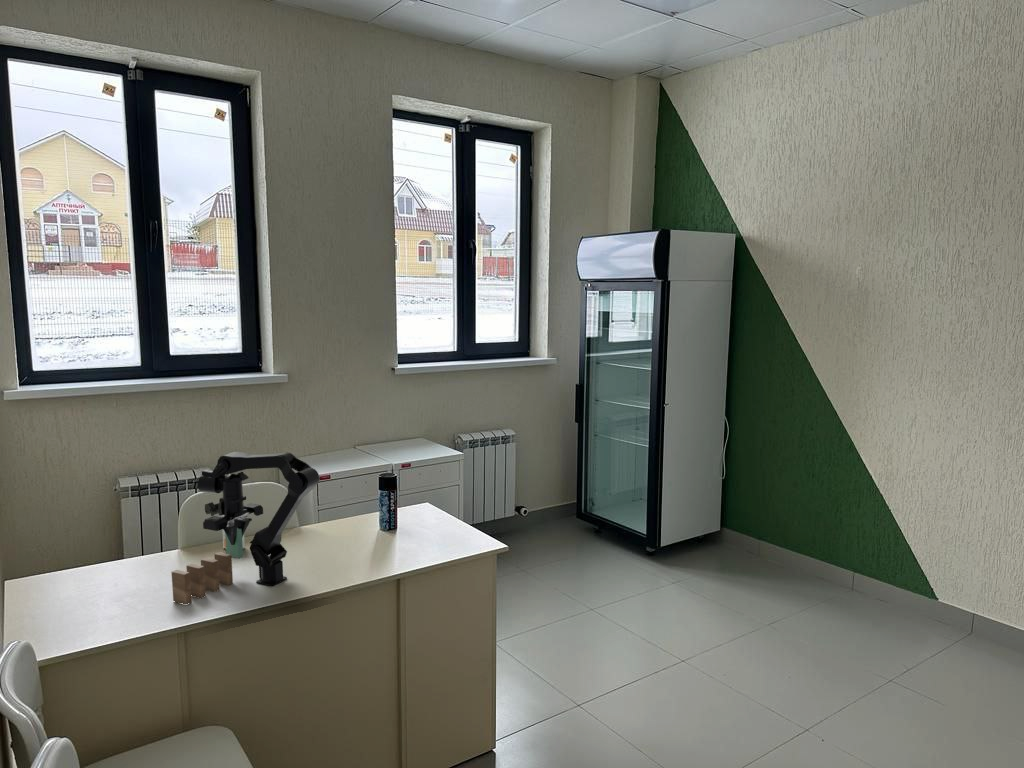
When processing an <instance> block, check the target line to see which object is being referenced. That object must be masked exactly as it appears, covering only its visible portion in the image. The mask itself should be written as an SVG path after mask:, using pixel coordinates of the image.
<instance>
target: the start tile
mask: <svg viewBox="0 0 1024 768" xmlns="http://www.w3.org/2000/svg"><path fill="white" fill-rule="evenodd" d="M225 540H226V549H225V553H226V554H231V557H232V559H237V560H240V559H242V558H244V548H243V545H242V529H241V528H237V534H236V541H235V545H231V543H230V541H229V539H228V537H227V535H226V533H225Z"/></svg>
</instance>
